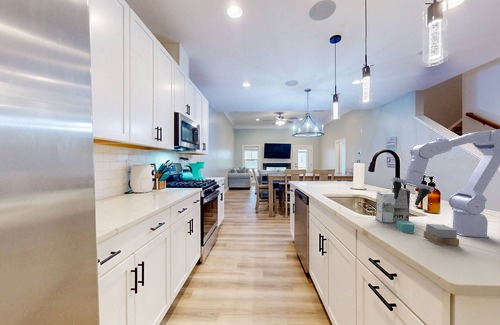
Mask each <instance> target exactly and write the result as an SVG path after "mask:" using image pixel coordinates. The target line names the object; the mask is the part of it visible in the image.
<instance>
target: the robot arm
mask: <svg viewBox="0 0 500 325" xmlns="http://www.w3.org/2000/svg"><path fill="white" fill-rule="evenodd" d="M467 144H472V146H473V147H474V148H476V149H477V150H478V151H479V152H480V153H482V155H483V156H482V157H481V159H480V161H479V162H478V164H477V166H476V167H475V169H474V171H473V172H472V174H471V175H470V177H469V179H468V181H467V183H465V186H464V187H463V188H462V189H458V190H456V192H455V193H454V194H452V195H451V196H450V197H449V199H448V204H449V206H450V208H451V210H452V211H453V212H452V228H453V229H455V230H457V235H459V236H461V237H474V238H475V237H476V238H490V237H489V236H488V219H487V217H486V215H485V214H482V213H483V212H484V210H485V208H486V203H487V200H488V199H487V198H486V196H485V195H484V192H485V190H486V189H487V187H488V186H489V185H490V182H491V181H492V179H493V177H494V176H495V175H496V172H497V171H498V169H499V168H500V128H498V129H492V130H484V131H475V132H470V133H466V134H463V135H460V136H458V137H454V138H451V139H447V138H441V137H440V138H436V140H434V141H431V142H429V141H426V142H424V144H422V145H421V144H420V145H419V144H418V145H415V146H414V147H413V148H412V149H410V151H409V153H410V156H411V158H410V161H409V163H408V164H409V165H408V167H407V170H406V174H405V176H404V179H402V178H399V177H394V176H392V177H391V180H390V181H391V182H392V185H393V188H394V199H397V198H398V194H399V191H400V188H402V186H403V185H405V186H409V187H412V188H417V189H418V193H417V197H416V199H415V201H414V206H419V205H420V203H421V202H422V201H423V200H424V199H425V198H426V197H427V196H428V195H429V194H430V193H431V192H434V189H435V187H433V186H431V185H426V184H422V183H423V182H422V181H423V178H424V175H425V173H426V169H427V167H428V164H429V162H430V161H429V160H430V159H433V158H434V157H435V156H437V155H441V154H445V153H448V152H451V150H452V149H453V147H454V148H455V147H458V146H462V145H467Z"/></svg>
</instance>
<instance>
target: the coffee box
mask: <svg viewBox="0 0 500 325" xmlns="http://www.w3.org/2000/svg"><path fill="white" fill-rule="evenodd" d="M391 192H392V193H394V187H392V188H391ZM410 200H411V190H409V189H408V188H404V187H401V188H400V191H399V194H398V198H397V199H395V208H394V223H396V224H397V221H407V222H410V205H411V204H410V203H411V202H410Z"/></svg>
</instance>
